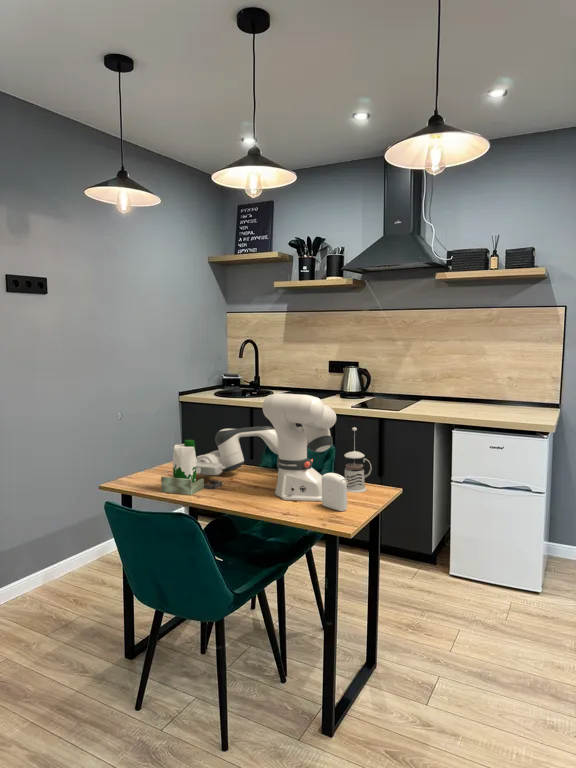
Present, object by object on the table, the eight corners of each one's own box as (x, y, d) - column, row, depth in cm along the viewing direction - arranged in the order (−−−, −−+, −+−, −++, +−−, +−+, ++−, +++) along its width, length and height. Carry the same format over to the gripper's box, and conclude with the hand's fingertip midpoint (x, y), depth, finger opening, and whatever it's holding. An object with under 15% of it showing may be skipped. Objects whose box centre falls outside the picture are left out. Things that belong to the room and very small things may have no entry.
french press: (341, 485, 216) (340, 425, 214) (369, 485, 216) (369, 425, 214) (343, 492, 206) (343, 429, 205) (373, 492, 206) (373, 429, 204)
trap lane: (222, 485, 219) (222, 470, 219) (201, 496, 203) (201, 481, 203) (174, 480, 227) (174, 466, 227) (151, 490, 211) (151, 476, 211)
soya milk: (196, 492, 209) (195, 442, 207) (173, 493, 207) (171, 443, 206) (196, 486, 217) (195, 438, 216) (174, 487, 216) (173, 439, 214)
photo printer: (320, 505, 190) (319, 471, 189) (328, 503, 193) (328, 470, 192) (340, 512, 182) (340, 477, 181) (349, 510, 185) (349, 475, 184)
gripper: (227, 474, 226) (211, 482, 213) (186, 470, 233) (168, 477, 220) (227, 459, 225) (211, 466, 213) (186, 456, 233) (168, 462, 220)
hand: (189, 472), depth 217 cm, fingers closed
